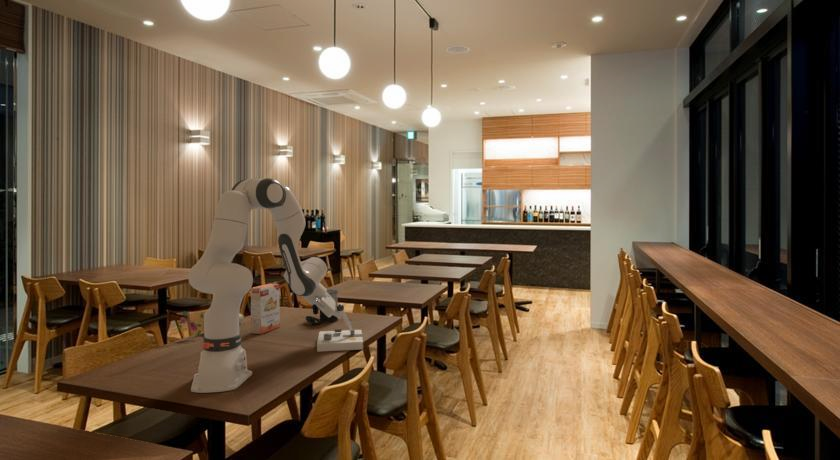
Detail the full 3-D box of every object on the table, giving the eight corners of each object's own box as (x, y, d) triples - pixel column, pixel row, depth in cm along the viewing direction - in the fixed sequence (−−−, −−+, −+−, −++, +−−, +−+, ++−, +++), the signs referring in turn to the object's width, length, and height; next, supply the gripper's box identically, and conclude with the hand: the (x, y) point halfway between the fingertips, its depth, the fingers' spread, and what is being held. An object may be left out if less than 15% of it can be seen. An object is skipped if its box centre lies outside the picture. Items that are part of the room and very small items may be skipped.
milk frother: (340, 318, 262) (340, 289, 261) (332, 326, 246) (331, 295, 245) (313, 318, 264) (312, 289, 263) (302, 325, 248) (302, 294, 247)
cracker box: (261, 335, 232) (260, 288, 230) (250, 333, 234) (249, 287, 232) (281, 327, 245) (279, 283, 243) (270, 326, 247) (269, 282, 246)
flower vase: (242, 339, 252) (190, 342, 219) (223, 330, 256) (169, 331, 223) (251, 316, 253) (201, 316, 220) (232, 307, 257) (179, 305, 224)
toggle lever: (350, 336, 215) (335, 307, 214) (350, 334, 218) (335, 305, 217) (356, 333, 215) (342, 303, 214) (356, 331, 218) (342, 302, 217)
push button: (331, 339, 210) (331, 335, 210) (323, 339, 210) (323, 335, 209) (331, 337, 213) (331, 333, 213) (323, 337, 213) (323, 333, 213)
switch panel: (363, 349, 208) (362, 341, 207) (317, 351, 205) (316, 343, 205) (361, 336, 227) (361, 329, 227) (319, 338, 225) (319, 331, 225)
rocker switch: (341, 332, 218) (341, 328, 218) (334, 332, 217) (334, 329, 218) (341, 331, 222) (341, 328, 222) (334, 331, 222) (334, 328, 222)
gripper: (320, 293, 204) (346, 317, 206) (322, 285, 224) (346, 306, 226) (309, 305, 203) (335, 329, 205) (312, 295, 224) (335, 317, 226)
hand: (341, 317), depth 216 cm, fingers closed, pressing on toggle lever
